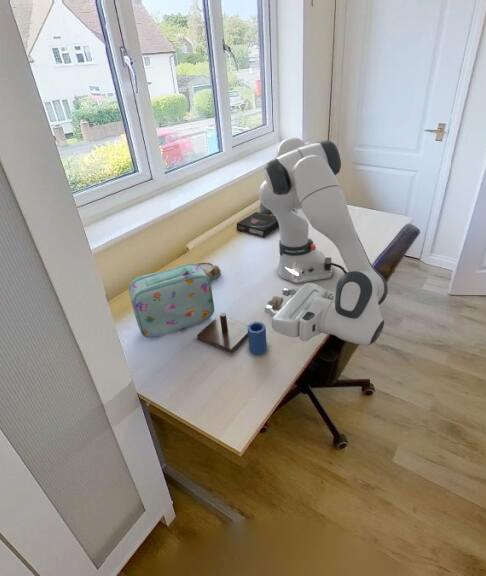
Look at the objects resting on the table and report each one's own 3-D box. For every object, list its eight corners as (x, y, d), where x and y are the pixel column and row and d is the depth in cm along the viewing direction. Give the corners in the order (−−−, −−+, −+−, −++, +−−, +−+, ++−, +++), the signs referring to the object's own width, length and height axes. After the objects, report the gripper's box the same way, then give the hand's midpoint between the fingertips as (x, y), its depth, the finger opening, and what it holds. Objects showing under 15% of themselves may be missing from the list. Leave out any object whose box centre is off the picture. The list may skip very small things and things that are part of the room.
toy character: (266, 317, 141) (262, 309, 136) (275, 299, 145) (271, 290, 140) (276, 320, 140) (273, 312, 135) (285, 302, 143) (281, 293, 138)
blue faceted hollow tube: (269, 346, 125) (268, 325, 120) (260, 357, 122) (259, 335, 117) (255, 341, 128) (254, 319, 123) (246, 351, 124) (244, 329, 119)
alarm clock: (198, 260, 168) (225, 263, 160) (201, 270, 170) (228, 273, 162) (180, 272, 160) (208, 276, 152) (184, 283, 162) (211, 287, 154)
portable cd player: (236, 230, 197) (235, 223, 195) (256, 218, 209) (256, 211, 207) (263, 238, 189) (262, 230, 187) (282, 225, 201) (282, 218, 199)
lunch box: (210, 304, 146) (202, 253, 134) (220, 319, 138) (212, 266, 126) (137, 327, 136) (122, 274, 124) (144, 344, 129) (128, 290, 117)
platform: (253, 332, 132) (251, 310, 127) (231, 354, 123) (228, 332, 118) (220, 319, 138) (217, 298, 133) (197, 339, 130) (193, 318, 125)
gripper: (336, 284, 109) (293, 272, 115) (301, 326, 94) (254, 309, 101) (335, 303, 112) (293, 290, 118) (301, 345, 98) (255, 328, 104)
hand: (275, 299), depth 109 cm, fingers open, 8 cm apart
